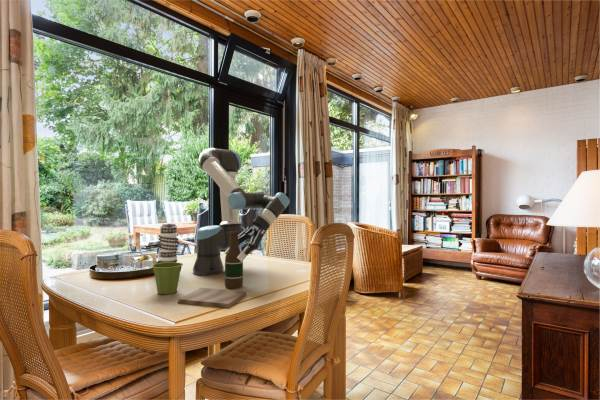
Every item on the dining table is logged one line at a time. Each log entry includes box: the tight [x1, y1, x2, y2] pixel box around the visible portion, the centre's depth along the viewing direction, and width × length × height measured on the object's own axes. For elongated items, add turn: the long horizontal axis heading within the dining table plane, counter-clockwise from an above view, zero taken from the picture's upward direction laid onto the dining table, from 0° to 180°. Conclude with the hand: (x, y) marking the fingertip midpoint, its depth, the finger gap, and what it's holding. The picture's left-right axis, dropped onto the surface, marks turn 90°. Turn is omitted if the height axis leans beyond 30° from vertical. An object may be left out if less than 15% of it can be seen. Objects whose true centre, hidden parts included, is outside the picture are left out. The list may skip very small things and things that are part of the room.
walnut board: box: [177, 287, 247, 309], centre depth 129 cm, size 20×16×2 cm
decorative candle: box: [158, 222, 179, 263], centre depth 169 cm, size 9×9×25 cm
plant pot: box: [151, 261, 184, 296], centre depth 137 cm, size 12×12×11 cm
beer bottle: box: [224, 231, 244, 290], centre depth 146 cm, size 8×8×24 cm
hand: (232, 257), depth 145 cm, fingers open, 13 cm apart
